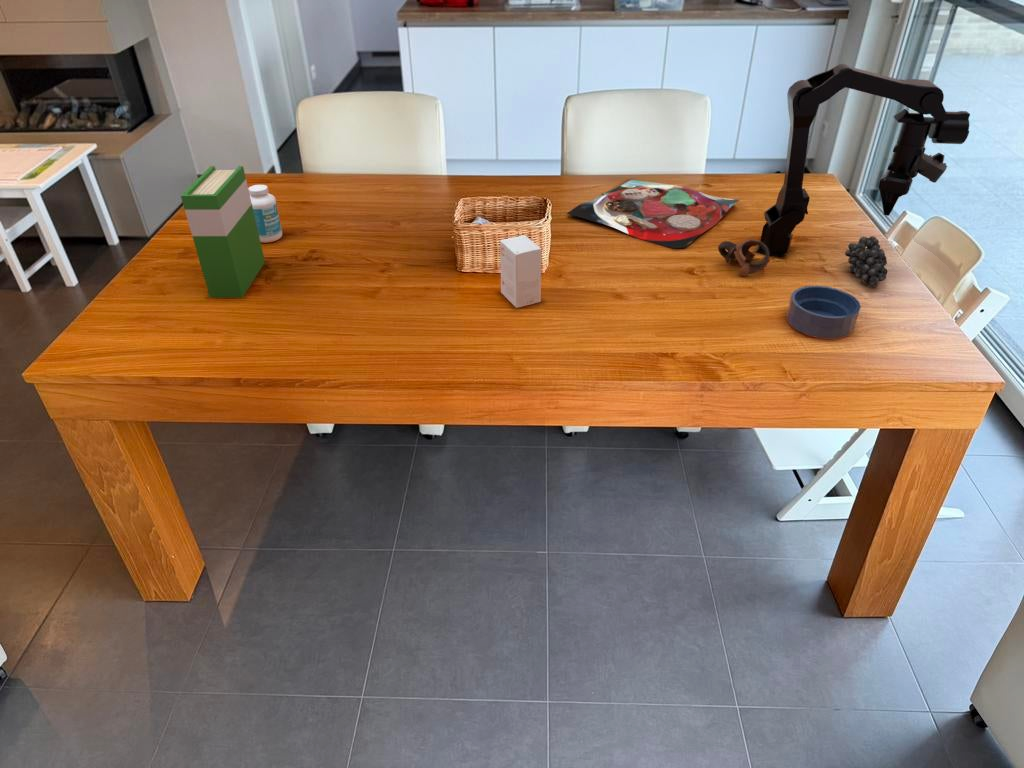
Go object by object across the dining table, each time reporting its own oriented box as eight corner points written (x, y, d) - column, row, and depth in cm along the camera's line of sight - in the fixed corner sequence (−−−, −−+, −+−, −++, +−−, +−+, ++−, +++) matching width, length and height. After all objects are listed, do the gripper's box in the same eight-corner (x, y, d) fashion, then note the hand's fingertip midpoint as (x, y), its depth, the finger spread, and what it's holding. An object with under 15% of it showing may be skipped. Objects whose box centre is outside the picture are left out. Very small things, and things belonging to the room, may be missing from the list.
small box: (541, 302, 163) (542, 248, 156) (515, 308, 161) (515, 254, 153) (525, 286, 169) (525, 234, 161) (500, 292, 167) (499, 239, 159)
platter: (630, 179, 222) (631, 173, 221) (739, 207, 205) (740, 200, 204) (565, 216, 200) (565, 210, 199) (681, 251, 183) (682, 244, 182)
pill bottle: (272, 245, 188) (261, 194, 180) (247, 241, 190) (235, 191, 182) (288, 233, 194) (278, 184, 186) (264, 230, 196) (253, 180, 188)
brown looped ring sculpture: (763, 261, 179) (777, 242, 172) (754, 292, 175) (767, 273, 168) (716, 244, 180) (728, 224, 173) (706, 274, 176) (717, 255, 169)
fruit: (894, 257, 159) (879, 227, 171) (852, 265, 162) (841, 235, 174) (896, 291, 164) (881, 260, 175) (855, 299, 166) (844, 267, 178)
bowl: (778, 330, 153) (784, 307, 150) (794, 302, 162) (800, 280, 159) (846, 347, 147) (853, 324, 144) (858, 318, 157) (866, 295, 153)
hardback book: (235, 262, 181) (210, 166, 167) (265, 262, 181) (243, 166, 166) (209, 297, 166) (180, 195, 152) (242, 297, 166) (216, 195, 152)
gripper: (945, 160, 154) (921, 230, 164) (956, 136, 167) (933, 202, 176) (888, 151, 159) (868, 219, 168) (903, 128, 172) (883, 193, 181)
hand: (890, 208), depth 173 cm, fingers open, 9 cm apart
